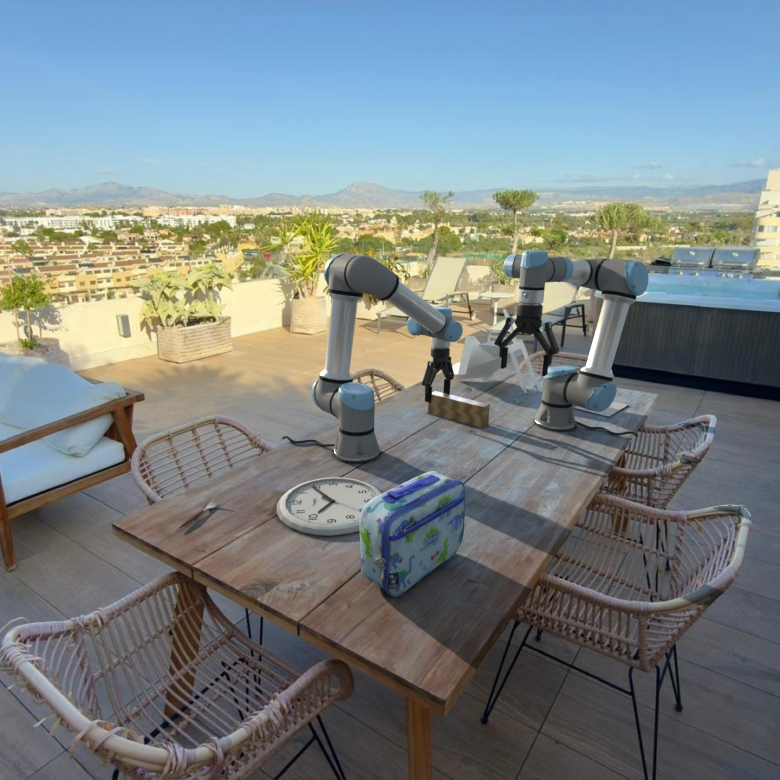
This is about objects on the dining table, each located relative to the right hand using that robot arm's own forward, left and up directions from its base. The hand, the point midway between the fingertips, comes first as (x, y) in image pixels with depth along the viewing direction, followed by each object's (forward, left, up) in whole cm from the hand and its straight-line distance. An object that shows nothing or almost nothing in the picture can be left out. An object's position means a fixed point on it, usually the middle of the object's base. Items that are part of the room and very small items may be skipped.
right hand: (523, 371), depth 164 cm
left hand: (+27, -40, -24) cm, 54 cm away
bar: (+19, -36, -30) cm, 51 cm away
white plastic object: (+3, -82, -30) cm, 88 cm away
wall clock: (+53, +38, -30) cm, 72 cm away
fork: (+86, +48, -30) cm, 103 cm away
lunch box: (+29, +63, -30) cm, 76 cm away
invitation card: (-43, -61, -30) cm, 81 cm away
